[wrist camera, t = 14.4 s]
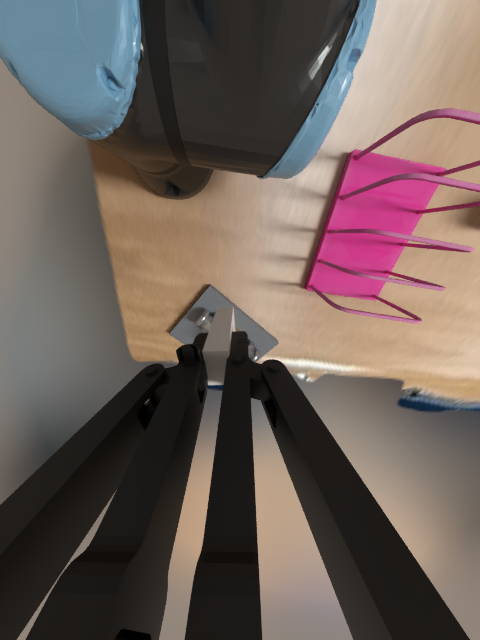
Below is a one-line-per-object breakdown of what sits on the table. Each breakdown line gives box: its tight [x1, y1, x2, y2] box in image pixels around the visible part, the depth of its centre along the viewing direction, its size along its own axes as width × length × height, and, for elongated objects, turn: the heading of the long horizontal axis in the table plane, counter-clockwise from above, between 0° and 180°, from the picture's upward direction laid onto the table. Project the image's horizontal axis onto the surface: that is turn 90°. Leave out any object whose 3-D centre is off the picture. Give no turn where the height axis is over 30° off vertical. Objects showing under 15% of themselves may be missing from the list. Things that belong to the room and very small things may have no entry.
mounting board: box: [170, 285, 279, 361], centre depth 47 cm, size 24×18×2 cm
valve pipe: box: [194, 309, 260, 362], centre depth 44 cm, size 18×6×6 cm, turn 48°
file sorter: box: [305, 109, 480, 323], centre depth 30 cm, size 17×25×16 cm
